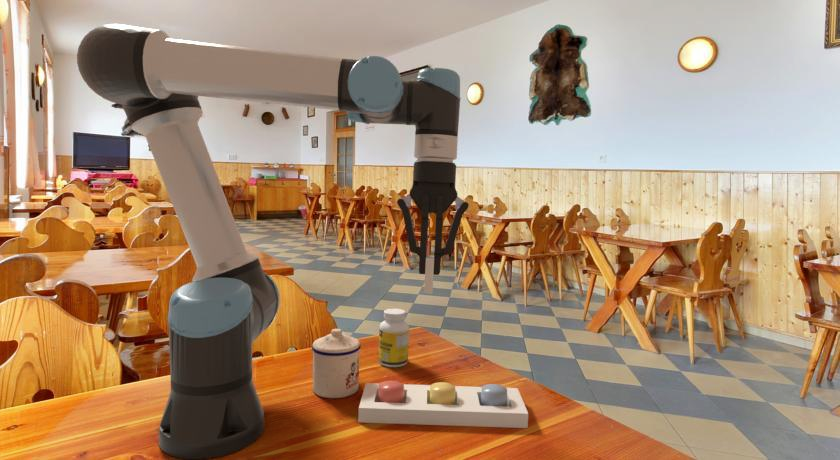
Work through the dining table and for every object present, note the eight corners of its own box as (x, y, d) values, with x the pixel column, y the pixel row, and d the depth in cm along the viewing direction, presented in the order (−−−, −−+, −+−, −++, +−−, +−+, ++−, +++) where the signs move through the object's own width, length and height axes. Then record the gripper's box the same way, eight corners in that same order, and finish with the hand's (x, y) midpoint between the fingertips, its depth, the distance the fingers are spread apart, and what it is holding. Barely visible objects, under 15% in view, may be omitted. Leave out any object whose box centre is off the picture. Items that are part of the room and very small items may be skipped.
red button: (377, 410, 85) (377, 390, 85) (379, 399, 90) (379, 380, 89) (402, 411, 85) (403, 391, 85) (403, 400, 90) (404, 380, 89)
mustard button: (429, 412, 85) (430, 392, 85) (429, 401, 90) (430, 381, 89) (455, 413, 85) (456, 393, 85) (453, 401, 90) (454, 382, 89)
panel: (358, 422, 83) (358, 407, 82) (365, 395, 93) (365, 382, 92) (527, 428, 82) (528, 413, 82) (516, 401, 92) (517, 388, 92)
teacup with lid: (355, 400, 91) (356, 338, 89) (306, 398, 91) (306, 336, 90) (365, 374, 102) (366, 319, 101) (321, 373, 103) (321, 317, 101)
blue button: (482, 414, 85) (483, 394, 85) (479, 402, 89) (480, 383, 89) (508, 415, 85) (509, 395, 85) (504, 403, 89) (505, 384, 89)
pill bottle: (375, 358, 112) (376, 308, 110) (403, 356, 113) (404, 306, 112) (382, 369, 105) (383, 316, 104) (411, 367, 107) (413, 314, 106)
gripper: (396, 158, 84) (390, 294, 87) (473, 161, 84) (465, 299, 86) (400, 159, 92) (394, 285, 94) (471, 163, 91) (463, 289, 94)
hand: (428, 291), depth 90 cm, fingers closed
